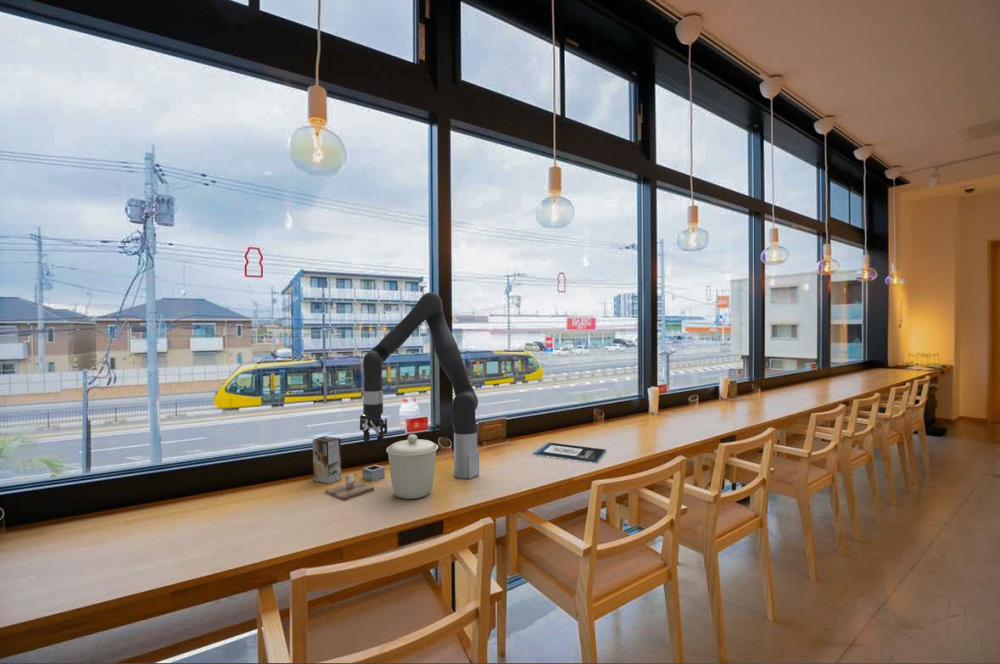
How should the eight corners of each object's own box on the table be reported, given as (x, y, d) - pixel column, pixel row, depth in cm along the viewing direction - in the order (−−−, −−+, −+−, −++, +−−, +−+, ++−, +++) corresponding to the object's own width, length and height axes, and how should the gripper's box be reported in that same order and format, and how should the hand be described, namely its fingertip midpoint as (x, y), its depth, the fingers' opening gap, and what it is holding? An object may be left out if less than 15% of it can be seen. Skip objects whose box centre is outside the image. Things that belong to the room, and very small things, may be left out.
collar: (384, 477, 171) (384, 467, 171) (372, 481, 166) (371, 471, 166) (375, 474, 175) (375, 464, 175) (362, 478, 170) (362, 468, 170)
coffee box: (342, 479, 170) (341, 438, 169) (328, 484, 164) (328, 441, 164) (325, 475, 174) (325, 435, 174) (312, 480, 168) (311, 439, 168)
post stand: (374, 490, 158) (374, 473, 158) (344, 500, 148) (344, 483, 148) (354, 483, 165) (354, 467, 165) (325, 492, 155) (325, 476, 155)
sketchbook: (596, 465, 187) (596, 460, 187) (531, 456, 200) (531, 452, 200) (606, 452, 207) (606, 447, 207) (546, 445, 220) (546, 441, 220)
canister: (427, 506, 143) (427, 442, 143) (377, 501, 147) (376, 439, 147) (445, 486, 161) (445, 429, 161) (399, 483, 165) (399, 427, 164)
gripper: (392, 402, 169) (392, 444, 169) (370, 399, 178) (370, 438, 178) (376, 405, 163) (376, 448, 163) (354, 401, 172) (354, 442, 172)
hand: (373, 443), depth 171 cm, fingers open, 8 cm apart
